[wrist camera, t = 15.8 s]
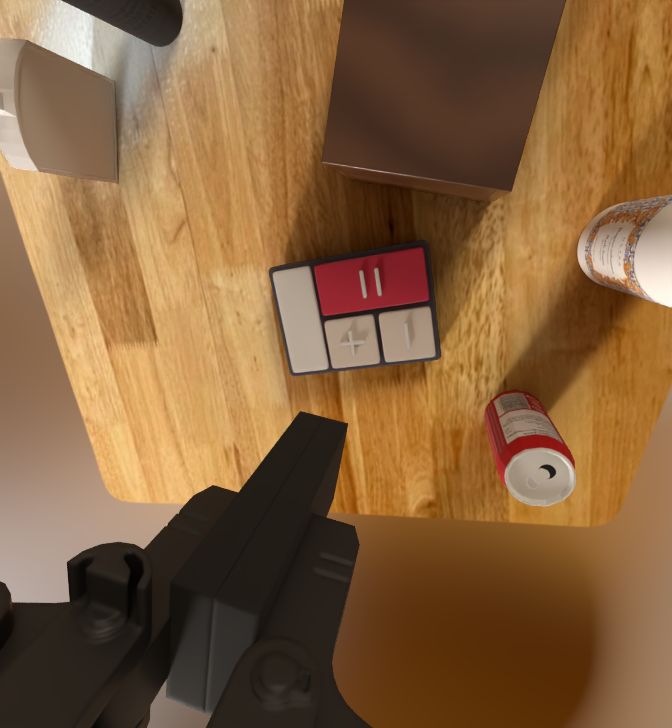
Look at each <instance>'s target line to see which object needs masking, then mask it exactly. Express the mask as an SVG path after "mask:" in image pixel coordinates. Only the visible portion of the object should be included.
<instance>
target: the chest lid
mask: <svg viewBox="0 0 672 728" xmlns="http://www.w3.org/2000/svg"><path fill="white" fill-rule="evenodd" d="M565 2H566V0H344V5H343V12H342V19H341V26H340V33H339V41H338V48H337V55H336V62H335V69H334V76H333V84H332V91H331V98H330V105H329V112H328V120H327V127H326V134H325V141H324V148H323V156H322V163H324V164H326V165H332V166H339V167H345V168H352V169H358V170H365V171H371V172H377V173H384V174H390V175H397V176H403V177H409V178H416V179H422V180H429V181H435V182H442V183H448V184H454V185H461V186H467V187H474V188H480V189H487V190H493V191H499V192H506V193H510V192H511V191H512V188H513V184H514V181H515V177H516V174H517V170H518V167H519V163H520V160H521V156H522V153H523V149H524V146H525V142H526V139H527V135H528V132H529V128H530V125H531V121H532V118H533V114H534V111H535V107H536V104H537V100H538V97H539V93H540V90H541V86H542V83H543V79H544V76H545V72H546V69H547V65H548V62H549V58H550V55H551V51H552V48H553V44H554V41H555V37H556V34H557V30H558V27H559V23H560V20H561V16H562V13H563V9H564V6H565Z"/></svg>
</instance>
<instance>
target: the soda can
mask: <svg viewBox="0 0 672 728" xmlns="http://www.w3.org/2000/svg"><path fill="white" fill-rule="evenodd" d="M484 417H485V424H486V428H487V432H488V435H489V439H490V443H491V447H492V451H493V455H494V459H495V463H496V467H497V470H498V474H499V476H500V479H501V481H502V483H503V484H504V485H505V486H506V487H507V488H508V490H509V492H510V493H511V494H512V495H513V496H514V497H515V498H516V499H518V500H519V501H521V502H523V503H525V504H528V505H533V506H550V505H552V504H555V503H558V502H560V501H563V500H565V499H566V498H567V497H568V496H569V495H570V494H571V492H572V491H573V489H574V487H575V484H576V472H575V462H574V459H573V457H572V454H571V452H570V450H569V449H568V447H567V446H566V444H565V442H564V441H563V439H562V437H561V436H560V434H559V432H558V431H557V429H556V428H555V426H554V424H553V423H552V421H551V419H550V418H549V416H548V414H547V413H546V411H545V410H544V408H543V406H542V405H541V403H540V402H539V401H538V400H537V398H535V397H534V396H532V395H531V394H529V393H526V392H524V391H515V390H514V391H509V392H504V393H500V394H499V395H498V396H496V397H495V398H493V399H492V400H491V401H490V403H489V404H488V406H487V408H486V410H485V416H484Z"/></svg>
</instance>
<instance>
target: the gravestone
mask: <svg viewBox="0 0 672 728" xmlns="http://www.w3.org/2000/svg"><path fill="white" fill-rule="evenodd" d="M0 149H1V151H2V153H3V155H4V156H5V158H6V159H7V161H8V162H9V164H10V165H11V167H12V168H17V169H24V170H30V171H37V172H44V173H50V174H57V175H64V176H70V177H77V178H84V179H90V180H97V181H104V182H110V183H117V184H118V168H117V138H116V108H115V81H114V80H111V79H109V78H107V77H105V76H103V75H101V74H99V73H96V72H94V71H92V70H90V69H88V68H86V67H84V66H81V65H79V64H77V63H75V62H73V61H71V60H69V59H66V58H64V57H62V56H60V55H58V54H56V53H54V52H51V51H49V50H47V49H45V48H43V47H41V46H39V45H36V44H34V43H32V42H30V41H28V40H21V39H9V38H0Z"/></svg>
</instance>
